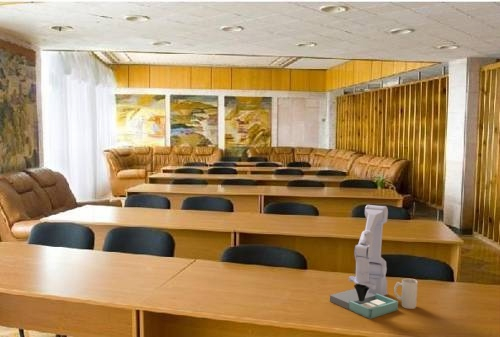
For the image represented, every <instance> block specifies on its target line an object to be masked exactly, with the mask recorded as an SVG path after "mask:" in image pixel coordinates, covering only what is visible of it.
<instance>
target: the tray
mask: <svg viewBox="0 0 500 337" xmlns="http://www.w3.org/2000/svg"><path fill="white" fill-rule="evenodd" d="M377 299H378V300H380V301H383V302H386V304H384V305H381V306H377V307H374V308H371V309H370V308H367V307H365V306H362V305H360V304H358V303H355V302H353V301H349V310H348V311H351V312H353V313H356V314H358V315H360V316H362V317H364V318H367V319H369V320H372V319H374V318H375V319H376V318H378V317H381V316H384V315H387V314H390V313H393V312H396V311H398V310H399V309H398V308H399V301H398V300H395V299H393V298H390V297H387V296H386V295H383V296H382V295H380V294H377V293H376V294H375V300H377ZM368 303H370V302H368Z"/></svg>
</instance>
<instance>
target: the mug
mask: <svg viewBox="0 0 500 337" xmlns="http://www.w3.org/2000/svg"><path fill="white" fill-rule="evenodd" d="M399 286H401V295H399V294H398V292H397V288H398V287H399ZM393 291H394V292H393V293H394V295H395V297H396V299H397V300H400V301H401V307H403V308H405V309H408V310H412V309H416V308H417V297H418V296H417V295H418V280H417V279H414V278H407V277H406V278H402V279H401V282H400V281H396V283H395V285H394V287H393Z"/></svg>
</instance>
